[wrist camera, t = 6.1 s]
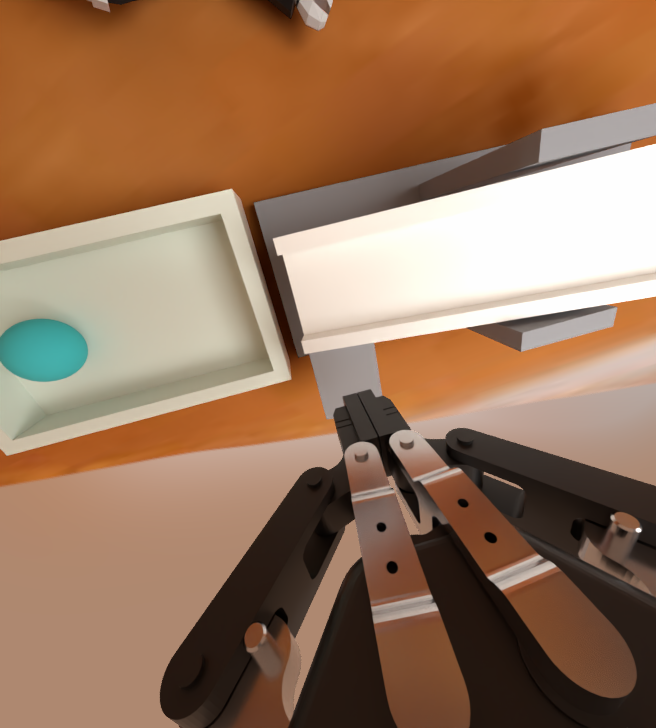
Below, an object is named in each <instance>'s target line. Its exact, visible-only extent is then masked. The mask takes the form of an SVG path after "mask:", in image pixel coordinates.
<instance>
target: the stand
mask: <svg viewBox="0 0 656 728" xmlns="http://www.w3.org/2000/svg"><path fill="white" fill-rule="evenodd" d="M655 135H656V103H655V104H650V105H646V106H642V107H637V108H633V109H628V110H624V111H620V112H615V113H611V114H606V115H602V116H598V117H593V118H589V119H584V120H580V121H576V122H571V123H567V124H562V125H558V126H554V127H549V128H545V129H541V130H539V131H537V132H534V133H532V134H530V135H528V136H526V137H523V138H521V139H519V140H517V141H514V142H512V143H510V144H508V145H503V146H499V147H494V148H490V149H486V150H481V151H477V152H473V153H468V154H464V155H460V156H455V157H451V158H446V159H442V160H438V161H433V162H429V163H425V164H420V165H416V166H412V167H407V168H403V169H398V170H394V171H390V172H385V173H381V174H377V175H372V176H368V177H364V178H359V179H355V180H350V181H346V182H342V183H337V184H333V185H329V186H324V187H320V188H316V189H311V190H307V191H302V192H298V193H294V194H289V195H285V196H281V197H276V198H272V199H267V200H263V201H259V202H254V206H255V209H256V213H257V216H258V220H259V223H260V227H261V230H262V233H263V237H264V240H265V244H266V247H267V251H268V254H269V258H270V261H271V265H272V268H273V272H274V275H275V279H276V282H277V285H278V289H279V292H280V296H281V299H282V303H283V306H284V310H285V313H286V317H287V320H288V324H289V327H290V331H291V334H292V338H293V341H294V344H295V348H296V351H297V355H298V358H299V357H303V356H307V355H309V353H308V354H304V350H303V346H302V343H301V341H302V338H303V336H304V333H303V329H302V325H301V322H300V318H299V314H298V311H297V307H296V303H295V299H294V296H293V292H292V288H291V284H290V281H289V277H288V273H287V270H286V266H285V262H284V258H283V255H279V256H277V252H276V248H275V245H274V241H273V238H277V237H281V236H285V235H289V234H293V233H297V232H301V231H305V230H309V229H313V228H317V227H321V226H326V225H330V224H334V223H338V222H342V221H346V220H350V219H354V218H358V217H362V216H366V215H370V214H374V213H378V212H382V211H386V210H390V209H394V208H399V207H403V206H407V205H411V204H415V203H419V202H423V201H427V200H431V199H435V198H439V197H443V196H447V195H451V194H455V193H459V192H463V191H467V190H471V189H476V188H480V187H484V186H488V185H492V184H496V183H500V182H504V181H508V180H512V179H516V178H520V177H524V176H528V175H532V174H536V173H540V172H544V171H548V170H553V169H557V168H561V167H565V166H569V165H573V164H577V163H581V162H585V161H589V160H593V159H597V158H601V157H605V156H609V155H613V154H617V153H621V152H625V151H630V147H631V143H632V142H635V141H638V140H642V139H645V138H648V137H652V136H655ZM616 311H617V307H615V306H609V305H600V306H594V307H588V308H582V309H576V310H570V311H563V312H557V313H551V314H545V315H539V316H533V317H527V318H521V319H515V320H509V321H503V322H497V323H490V324H484V325H478V326H472V327H466V328H468V329H470V330H472V331H475V332H477V333H479V334H481V335H484V336H486V337H488V338H491V339H493V340H495V341H497V342H500V343H502V344H504V345H507V346H509V347H511V348H513V349H516V350H518V351H520V352H522V351H525V350H529V349H533V348H536V347H540V346H543V345H547V344H551V343H554V342H558V341H562V340H565V339H569V338H572V337H576V336H580V335H583V334H587V333H591V332H594V331H598V330H601V329H605V328H609V327H612V326H613V324H614V320H615V315H616Z"/></svg>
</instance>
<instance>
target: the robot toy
mask: <svg viewBox="0 0 656 728" xmlns="http://www.w3.org/2000/svg"><path fill="white" fill-rule="evenodd" d="M87 1H90V2H92V4H93V7H95V8H98V9H101V10H105V11H108V12H110V9H109V4H108V3H114V4H119V5H122V4H124V3H127V2H130V1H136V0H87ZM268 1H269V2H271V3H272V4H273V5H274V6H276V7H277V8H278V9H279V10H280V11H282V12H283V13H284V14H285V15H286V16H288V17H289V18H290V19H291V17H292V14H293V11H294V8H295V5H296V7H297V9H298V11H299V13H300V15H301V17H302V19H303V20H304V22H305V24H306V26H308V27H311V28H313V29H315V30H317V31H319V30H321V29H322V28H324V26H325V23H326V20H327V17H328V15H327V14H329V12H330V9H331V6H332V2H333V1H332V0H268ZM323 10H324V11H325V12H326V13H327V14H326V13H325V12H324V11H323Z"/></svg>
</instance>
